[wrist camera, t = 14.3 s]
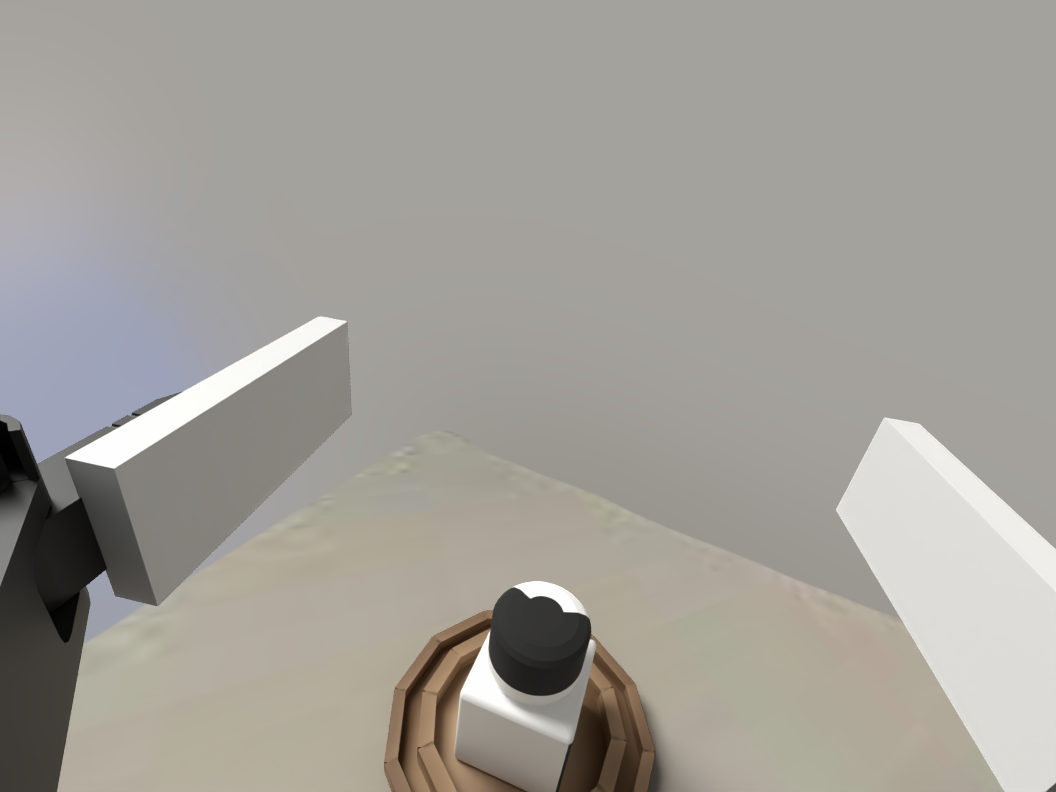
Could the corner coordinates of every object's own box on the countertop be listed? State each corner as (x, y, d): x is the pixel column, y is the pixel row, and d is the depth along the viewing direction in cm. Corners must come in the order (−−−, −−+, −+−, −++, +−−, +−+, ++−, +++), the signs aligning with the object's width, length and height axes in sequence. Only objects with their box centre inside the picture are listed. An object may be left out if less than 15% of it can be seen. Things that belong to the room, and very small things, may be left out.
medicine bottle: (554, 807, 31) (588, 690, 26) (451, 759, 33) (463, 640, 28) (580, 701, 38) (612, 589, 32) (492, 665, 39) (509, 553, 34)
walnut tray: (609, 626, 45) (615, 606, 44) (683, 894, 29) (694, 876, 28) (405, 626, 42) (405, 606, 41) (365, 921, 27) (363, 901, 26)
